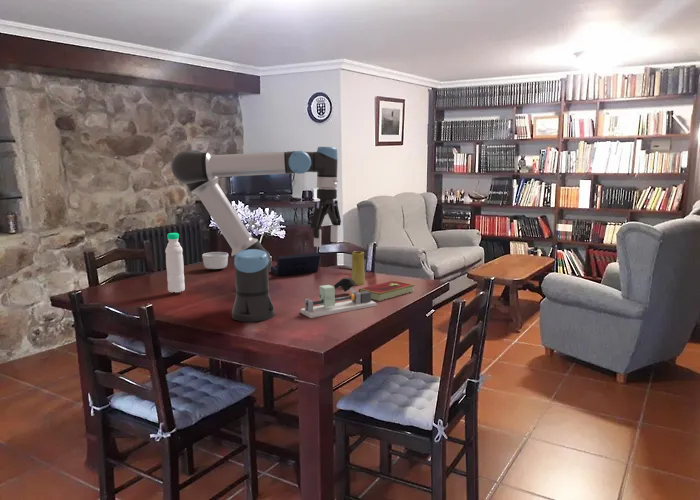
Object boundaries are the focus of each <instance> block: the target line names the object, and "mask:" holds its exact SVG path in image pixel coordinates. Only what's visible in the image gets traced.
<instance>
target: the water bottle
mask: <svg viewBox="0 0 700 500" xmlns="http://www.w3.org/2000/svg"><path fill="white" fill-rule="evenodd" d="M166 238H167V241H168V243H167V245H166V248H165V250H164V252H165V265H166V266H165V267H166V274H167V275H166V280H167V291H168V292H170V293H173V292H175V293H181V291H182V292H184V291H185V290H186V289H185V288H186V286H185V285H186V284H185V275H184V274H185V272H184V271H185V270H184V267H185V266H184V255H183V247H182V246H181V243H180V242H179V238H180V234H179V233H178V232H169V233H167V237H166Z"/></svg>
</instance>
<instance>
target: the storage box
mask: <svg viewBox="0 0 700 500" xmlns="http://www.w3.org/2000/svg"><path fill="white" fill-rule="evenodd" d="M320 260H321V255H320V252H313V253H302V254H300V253H299V254H289V255H288V254H287V255H278V256H277V261H276V265H271V268H270V272H271V273H272V274H274V275H275V276H278V277H279V276H288V275H296V274H307V273H317V272H318V271H319V267H320V266H319V265H320Z"/></svg>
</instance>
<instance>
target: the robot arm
mask: <svg viewBox="0 0 700 500" xmlns="http://www.w3.org/2000/svg"><path fill="white" fill-rule="evenodd" d="M316 149H317V150H316V151H303V150H296V151H295V150H291V151H288V150H287V151H278V152H275V151H274V152H256V153H255V152H254V153H253V152H252V153H234V154H233V153H231V154H229V153H228V154H210V152H208V151H207V152H206V151H205V152H203V151H199V150H194V149H192V150H183V151H180V152H178V153H176V154H175V156H174V157H173V159H172V160H171V164H170V165H171V166H170V169H171V173H172V175H173V176H174V178H175V179H176V180H178V182H180V183H182V184H185V185H186V187H187V189H188V191H189V192H190V193H191V194H194V195H196V196H198V198H199V199H200V201H201V203H202V204H203V205H204V207H205V209H206V211H207V212H208V214H209V216H210V217H211V218H212V220H213V222H214V223H215V224H216V226H217V228H218V229H219V231H220V232H221V234H222V236H223V237H224V239H225V240H226V241H227V243H228V245H229V247H230V248H231V257H232V258H233V260H234V261H233V264H234V276H235V299H234V303H233V307H232V310H231V316H232V317H231V318H232V319H233V320H235V321H237V320H238V322H245V323H249V322H250V323H251V322H252V323H253V322H261V321H263V322H264V321H266V320H269V319H271V318H273V317H275V315H276V314H275V307H274V304H273V302H272V299H271V296H270V292H269V291H270V289H269V288H270V286H269V285H270V284H269V273H270V272H271V270H270V268H271V266H272V265H273V264H272V257H271V255H270V253H269V251H267V249H265V248H264V247H263V245H262V243H261V242H260V241H259V239H258V238H254V237H252V235H251V234H250V232H249V231H248V229H247V228H246V226H245V224H244V223H243V220H242V219H241V218H240V216H239V215H238V213H237V211H236V210H235V208H234V207H233V205H232V204H231V202H230V201H229V199H228V198H227V196H226V195H225V193H224V191H223V189H222V188H221V186H220V184H219V178H224V177H246V176H247V177H249V176H267V175H268V176H269V175H283V174H284V175H285V174H290V175H291V174H298V175H299V174H305V173H316V187H317V189H316V199H318V200H319V202H318V201H317V202H315V203H314V209H313V215H312V218H311V221H310V222H311V223H310V229H311V230H313V247H314V248H315V247H317V248H321V247H322V229H321V227H322V225H323V222H324V220H325V218H326V217H325V216H326V215H328V219H329V220H330V222H331V225H330V243H331V242H332V243H338V239H339V237H338V236H339V226H341V224H342V220H341V219H342V218H341V215H340V212H339V211H340V210H339V205H338V204H339V202H338V200H336V199H337V197H338V191H337V190H338V189H336V188H337V187H338V148H337V147H335V146H317V148H316Z"/></svg>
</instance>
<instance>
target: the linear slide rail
mask: <svg viewBox="0 0 700 500" xmlns="http://www.w3.org/2000/svg"><path fill="white" fill-rule="evenodd" d="M323 303H324V300H321V301H320V300H316V301H314V300H311V299H310V298H304V307H303V308H300V313H301V314H302V315H304V316H305V317H308V318H309V319H313V318H318V317H323V316H328V315H329V316H330V315H335V314H339V313H344V312H350V311H355V310H360V309H366V308H371V307H377V302H375V301H373V300H372V299H371V292H368V291H362V292H359V291H358V292H357V291H356V290H355V292H352V293H349V295H347V296H341V297H335V306H330V307H324V305H320V304H323ZM315 305H316V306H315Z"/></svg>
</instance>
